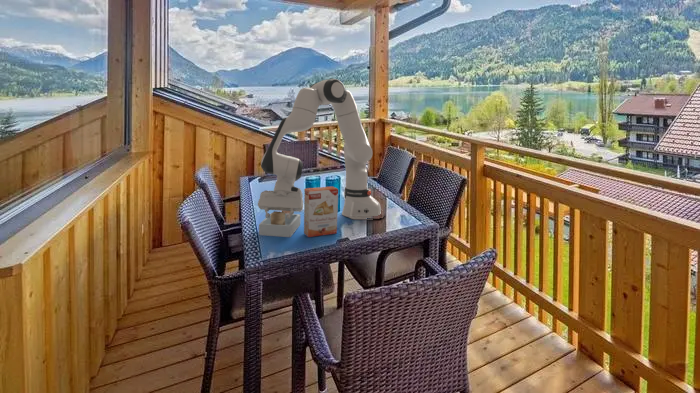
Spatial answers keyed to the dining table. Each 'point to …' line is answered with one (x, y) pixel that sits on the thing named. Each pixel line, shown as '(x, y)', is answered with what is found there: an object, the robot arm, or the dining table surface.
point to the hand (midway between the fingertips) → (277, 218)
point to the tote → (280, 227)
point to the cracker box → (320, 211)
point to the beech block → (278, 218)
